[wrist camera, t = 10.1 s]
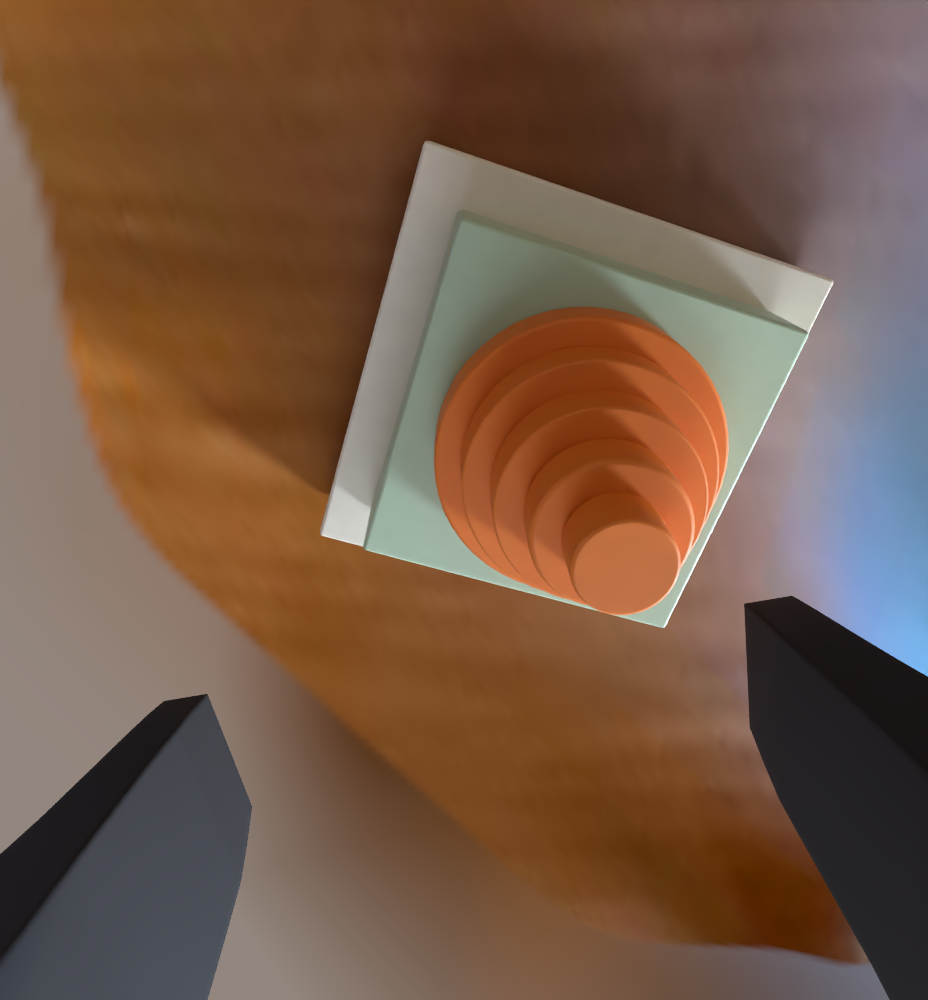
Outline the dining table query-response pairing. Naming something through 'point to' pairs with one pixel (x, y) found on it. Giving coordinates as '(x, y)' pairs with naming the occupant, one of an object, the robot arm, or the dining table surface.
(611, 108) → the dining table surface
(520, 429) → the cone
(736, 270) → the base block
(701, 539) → the top block
